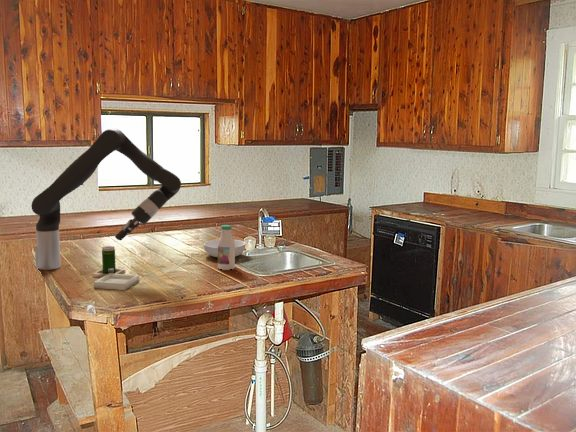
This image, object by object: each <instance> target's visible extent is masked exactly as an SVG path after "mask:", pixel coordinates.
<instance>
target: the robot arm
mask: <svg viewBox="0 0 576 432" xmlns="http://www.w3.org/2000/svg"><path fill="white" fill-rule="evenodd" d="M116 151H117V152H119V153H121V154H122V155H124V156H125V157H127V158H128V159H129V160H130V161H131V162H132V163H133V164H134V165H135V167H136V168H137V169H139V170H140V171H141V173H143V174H144V175H146V176H147V177H148V178H150V179H151V180H152V181H155V182H157V183H159V184H160V185H161V186H160V187H159V188H158V189H156V190H154V191H152V192H151V193H150V195H149V196H147V198H146V199H144V200H143V201H142V202H141V203H139V205H137V207H135V208H134V209H133V210H132V211H131V215H132V217H133V218H132V219H129V220H128V221H127V222H126V223H125V224H124V225H123V227H121V229H120V231H119V232H118V233H116V235H114V237H115V238H116V240H117V241H122V240H123V239H124V238H125V237H127V235H130V234H131V233H132V232H133V231H135V229H137V228H138V226H139V225H140V224H141V225H143V226H145V225H146V224H147V223H148V222H149V221H150V220H151V219H152V218H153V217H154V216H155V215H156V214H157V212H158V211H159V210H160V209H162V208H163V206H164V205H165V204H166V203H167V202H168V201H169V200H170V199H172V198H173V197H175V195H177V194H178V193H179V191H180V189H181V185H182V182H181V181H182V180H181V179H180V178H179V177H178V176H177V175H176V174H175V173H173V172H171V171H169V170H168V169H165V168H164V167H163V166H162V165H160V164H159V163H158V162H157V161H155V160H154V159H153V158H152V157H150V156H149V155H147V154H146V153H145V152H143V151H142V150H141V149H140V148H139V147H137V146H136V145H135V143H133V142H132V141H131V140H130V139H129V138H128V137H127V136H126V134H124V132H123V131H122V130H119V129H118V128H109V129H105V130H104V131H103V132H101V133H100V135H98V137H97V138H96V140H95V141H94V142H93V143H92V145H91V146H90V147H88V149H87V150H85V151H84V152H83V153H82V154H81V155H79V156H78V157H77V158H76V159H75V160H74V161H73V162H71V164H69V165H68V167H66V169H64V171H63V172H62V173H61V174H59V175H58V176H57V178H56V179H55V180H54V181H53V182H52V183H51V184H50V185H49V186H48V187H47V188H45V189H44V190H43V191H41V192H40V193H39V194H38V195H37V196H35V197H34V198H33V199H32V202H31V210H32V212H33V213H34V214H35V215H37V216H39V219H38V221H37V223H36V225H35V229H36V230H35V231H36V246H35V247H34V252H35V269H39V270H43V271H44V270H45V271H46V270H47V271H48V270H49V271H51V270H57V269H60V268H61V266H62V265H61V248H60V246H61V245H60V244H61V243H60V224H61V203H60V202H61V200H62V199H63V198H64V197H66V196H67V195H68V194H71V193H72V192H73V191H75V190H76V189H78V188H80V187H81V186H82V185H83V184H84V183H85V182H86V181H87V180H89V178H90V177H92V176H93V174H94V173H95V171H96V169H97V168H98V167H99V165H100V164H101V162H102V161H103V160H104V159H105V158H106V157H109V155H110V154H111V153H113V152H116Z"/></svg>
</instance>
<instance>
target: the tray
mask: <svg viewBox="0 0 576 432" xmlns="http://www.w3.org/2000/svg"><path fill="white" fill-rule="evenodd" d="M139 282H140V275H139V274H126V273H123V274H111V273H109V274H108V275H106V276H104V277H102V278H100V277H99V279H96V280H95V281H93V288H95V289H104V290H105V289H106V290H119V291H126V290H128V289H130V288H131V287H132V286H134V285H135V284H137V283H139Z"/></svg>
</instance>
